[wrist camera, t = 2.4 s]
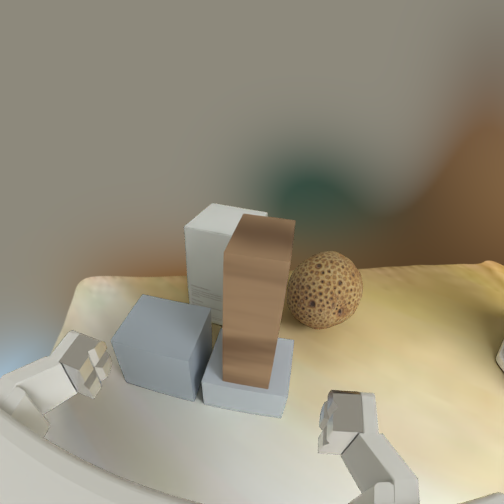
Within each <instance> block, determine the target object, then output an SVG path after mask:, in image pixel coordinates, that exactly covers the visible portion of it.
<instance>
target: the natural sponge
mask: <svg viewBox="0 0 504 504" xmlns="http://www.w3.org/2000/svg"><path fill="white" fill-rule="evenodd" d="M362 292H363V284H362V278H361V274H360V272H359V271H358V269H357V268H356V267H355V265H354V263H353V262H352V261H351V260H350V259H348V258H347V257H346V256H344V255H342V254H340V253H338V252H334V251H325V252H321V253H318V254H315V255H313V256H311V257H309V258H308V259H306V260H305V261H304V262H303V263H302V264H300V265H299V266H298V267H297V268H296V269H295V270H294V272H293V273H292V275H291V277H290V280H289V283H288V287H287V303H288V307H289V309H290V311H291V313H292V314H293V315H294V317H295V318H296V319H297V320H299V321H300V322H302V323H303V324H305V325H307V326H309V327H311V328H314V329H324V328H328V327H331V326H334V325H337V324H340V323H342V322H344V321H345V320H347V319H348V318H349V317H351V316H352V315H353V314H354V312H355V311H356V309H357V307H358V305H359V302H360V300H361V297H362Z"/></svg>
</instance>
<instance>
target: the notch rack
mask: <svg viewBox="0 0 504 504" xmlns="http://www.w3.org/2000/svg"><path fill="white" fill-rule="evenodd" d="M222 338H223V328H221V329H220V332H219V335H218V338H217V340H216V343H215V346H214V349H213V351H212V327H211V308H208V307H202V306H197V305H192V304H187V303H182V302H177V301H172V300H167V299H162V298H158V297H153V296H148V295H144V294H142V296H141V297H140V299H139V300H138V301H137V303H136V304H135V306H134V307H133V308H132V310H131V311H130V313H129V314H128V316H127V317H126V318H125V320H124V321H123V323H122V324H121V326H120V327H119V329H118V330H117V332H116V333H115V334H114V336H113V337H112V339H111V343H112V346H113V349H114V351H115V354H116V357H117V360H118V362H119V365H120V368H121V370H122V373H123V375H124V378H125V380H126V382H128V383H131V384H134V385H137V386H140V387H143V388H146V389H150V390H153V391H156V392H160V393H163V394H167V395H170V396H174V397H178V398H181V399H185V400H189V401H193V402H194V401H195V398H196V395H197V392H198V390H199V387H200V384H201V381H202V390H203V400H204V404H206V405H210V406H215V407H219V408H224V409H229V410H234V411H239V412H245V413H251V414H256V415H263V416H269V417H276V418H281V417H282V414H283V411H284V408H285V404H286V401H287V398H288V391H289V382H290V374H291V365H292V356H293V346H294V340H290V339H283V338H278V340H277V346H276V351H275V356H274V362H273V367H272V372H271V377H270V383H269V388H268V389H264V388H257V387H252V386H246V385H240V384H235V383H230V382H225V381H223V363H222ZM210 356H211V357H210ZM209 359H210V360H209ZM206 367H207V368H206ZM205 370H206V371H205ZM204 373H205V374H204ZM202 378H203V379H202Z"/></svg>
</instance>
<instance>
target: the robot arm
mask: <svg viewBox="0 0 504 504" xmlns="http://www.w3.org/2000/svg"><path fill="white" fill-rule="evenodd" d="M106 349H107V346H106V344H105V342H103V341H100V340H98V339H95V338H92V337H89V336H87V335H84V334H82V333H79V332H76V331H74V330H72V331H69V332H68V333H67V334H66V336H65V337H64V338H63V339H62V341H61V342H60V343H59V344H58V346H57V347H56V348H55V350H54V351H53V352H52V353H51V355H50V356H49V357H47V356H46V357H43V358H41V359H39V360H36V361H34V362H32V363H30V364H28V365H26V366H23V367H21V368H19V369H16V370H14V371H12V372H10V373H8V374H5V375H3V376H2V377H1V379H0V504H202V503H198V502H194V501H190V500H187V499H183V498H180V497H176V496H173V495H169V494H166V493H163V492H160V491H157V490H154V489H151V488H148V487H145V486H143V485H140V484H137V483H135V482H132V481H130V480H127V479H124V478H122V477H120V476H117V475H115V474H113V473H110V472H108V471H106V470H103V469H101V468H99V467H97V466H95V465H93V464H91V463H89V462H87V461H85V460H83V459H81V458H79V457H77V456H75V455H73V454H71V453H69V452H67V451H66V450H64V449H62V448H60V447H58V446H57V445H55V444H53V443H51V442H50V441H48V440H46V439H45V438H44V436H45V434H46V433H47V431H48V429H49V427H50V423H49V422H48V421H47V419H46V418H45V417H44V416H43V415H44V414H46V413H47V412H49V411H50V410H52V409H53V408H55V407H57V406H58V405H60V404H61V403H63V402H64V401H66V400H67V399H69V398H71V397H72V396H74V395H75V394H77V392H78V393H80V394H83V395H85V396H88V397H90V398H93V399H95V397H96V395H97V394H98V392H99V390H100V389H101V387H102V385H101V381H102V380H104V379H106V378H107V377H108V375H109V373H110V371H111V367H112V360H111V357H110V355H109V354H108V353H107V352H106ZM496 361H497V363H498V365H499V366H500V367H501V369H502V370H503V371H504V340H503V342H502V344H501V347H500V349H499V352H498V354H497V356H496ZM319 427H320V428H321V430H322V432H321V434H320V436H319V438H318V453H321V454H333V455H341V458H342V459H343V461H344V463H345V465H346V467H347V468H348V470H349V472H350V474H351V475H352V477H353V479H354V481H355V482H356V484H357V486H358V488H359V489H360V491H361V493H362V494H361V495H359V496H358V497H356V498H355V499H353V500H352V501H350V502H349V503H348V504H420V500H419V484H418V478H417V477H416V475H415V474H414V473H413V472H412V470H411V469H410V468H409V466H408V465H407V464H406V463H405V461H404V460H403V459H402V458H401V456H400V455H399V454H398V452H397V451H396V450H395V449H394V447H393V446H392V445H391V444H390V442H389V441H388V440H387V438H386V437H385V436H384V435H383V434H380V433H379V429H378V418H377V408H376V399H375V395H374V393H365V392H355V391H340V390H331V391H330V392H329V394H328V401H326V402H324V404H323V407H322V410H321V414H320V421H319ZM459 504H504V494H503V493H500V492H497V493H493V494H489V495H486V496H483V497H480V498H477V499H473V500H470V501H466V502H463V503H459Z"/></svg>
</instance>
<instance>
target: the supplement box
mask: <svg viewBox="0 0 504 504" xmlns="http://www.w3.org/2000/svg"><path fill="white" fill-rule="evenodd" d="M243 214H251V215H259V216H266V217H267V213H266V212H261V211H255V210H249V209H244V208H238V207H232V206H226V205H221V204H215V203H212V204H210V205H209V206H208V207H207V208H205V209H204V210H203V211H202V212H201V213H200V214H198V215H197V216H196V217H195V218H194V219H193V220H191V221H190V222H189V223H188V224H186V225H185V226H184V234H185V249H186V265H187V280H188V293H189V303H190V304H192V305H197V306H202V307H208V308H211V323H215V324H218V325H222V326H223V256H224V251H225V249H226V247H227V245H228V243H229V241H230V239H231V237H232V235H233V233H234V231H235V229H236V227H237V225H238V223H239V221H240V219H241V217H242V215H243Z"/></svg>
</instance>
